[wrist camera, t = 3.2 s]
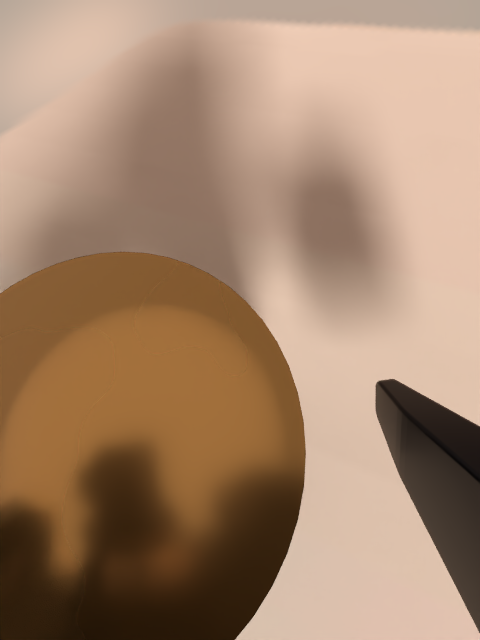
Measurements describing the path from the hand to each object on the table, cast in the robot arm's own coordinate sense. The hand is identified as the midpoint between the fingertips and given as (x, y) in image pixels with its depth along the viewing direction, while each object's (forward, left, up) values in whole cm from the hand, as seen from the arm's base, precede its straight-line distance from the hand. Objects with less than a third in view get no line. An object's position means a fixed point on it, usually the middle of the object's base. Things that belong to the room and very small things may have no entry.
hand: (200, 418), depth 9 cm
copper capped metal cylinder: (0, 0, -7) cm, 8 cm away
